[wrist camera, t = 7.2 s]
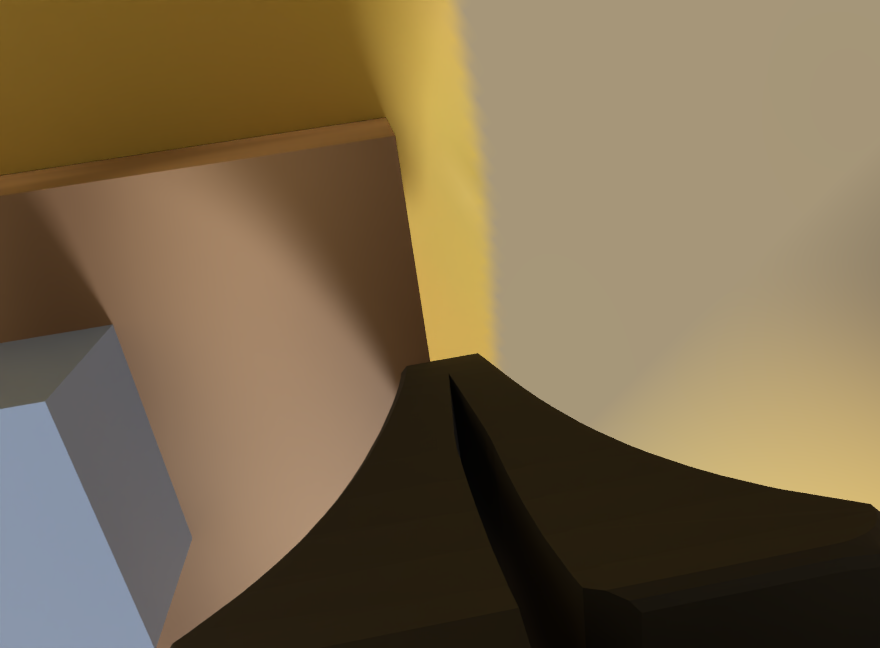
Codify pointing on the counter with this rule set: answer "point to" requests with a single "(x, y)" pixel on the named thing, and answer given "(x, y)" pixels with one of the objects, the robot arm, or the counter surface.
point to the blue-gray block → (82, 499)
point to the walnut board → (232, 321)
